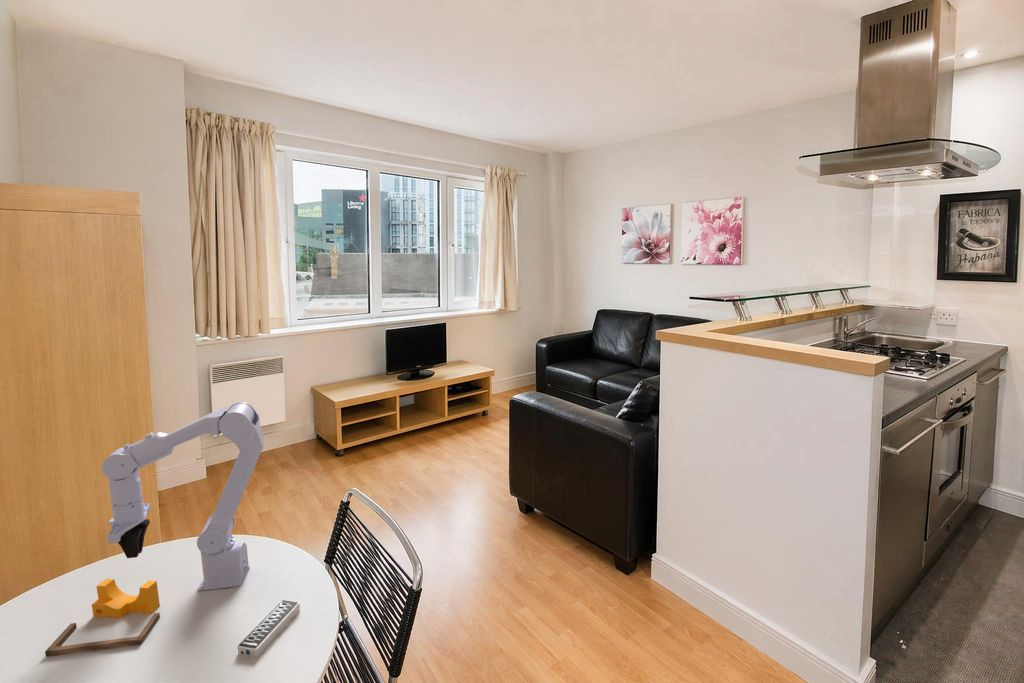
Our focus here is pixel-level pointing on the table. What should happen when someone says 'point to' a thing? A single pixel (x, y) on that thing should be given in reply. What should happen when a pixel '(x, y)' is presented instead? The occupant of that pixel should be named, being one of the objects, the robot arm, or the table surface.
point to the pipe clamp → (124, 600)
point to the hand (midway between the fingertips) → (134, 555)
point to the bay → (99, 645)
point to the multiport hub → (268, 629)
